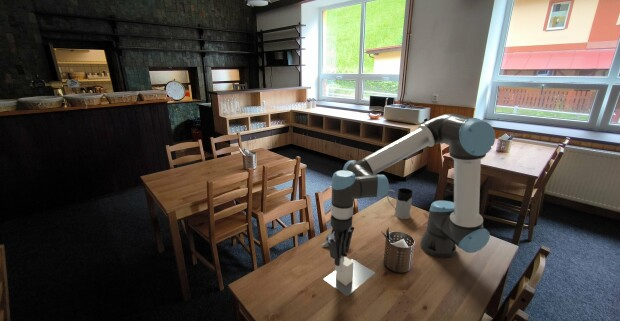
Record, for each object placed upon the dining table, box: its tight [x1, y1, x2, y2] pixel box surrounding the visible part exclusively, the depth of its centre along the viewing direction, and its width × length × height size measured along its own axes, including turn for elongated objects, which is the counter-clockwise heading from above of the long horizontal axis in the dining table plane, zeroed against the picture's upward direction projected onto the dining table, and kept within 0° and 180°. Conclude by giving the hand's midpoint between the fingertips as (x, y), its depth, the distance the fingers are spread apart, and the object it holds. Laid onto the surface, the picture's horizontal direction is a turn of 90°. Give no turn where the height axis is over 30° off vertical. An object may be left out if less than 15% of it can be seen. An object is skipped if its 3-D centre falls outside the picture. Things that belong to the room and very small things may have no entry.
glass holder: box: [386, 187, 413, 220], centre depth 162 cm, size 9×14×15 cm, turn 59°
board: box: [323, 258, 376, 297], centre depth 114 cm, size 18×12×1 cm, turn 134°
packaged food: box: [320, 233, 332, 248], centre depth 133 cm, size 9×12×5 cm
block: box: [336, 256, 354, 286], centre depth 110 cm, size 4×5×9 cm
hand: (338, 270), depth 107 cm, fingers closed
